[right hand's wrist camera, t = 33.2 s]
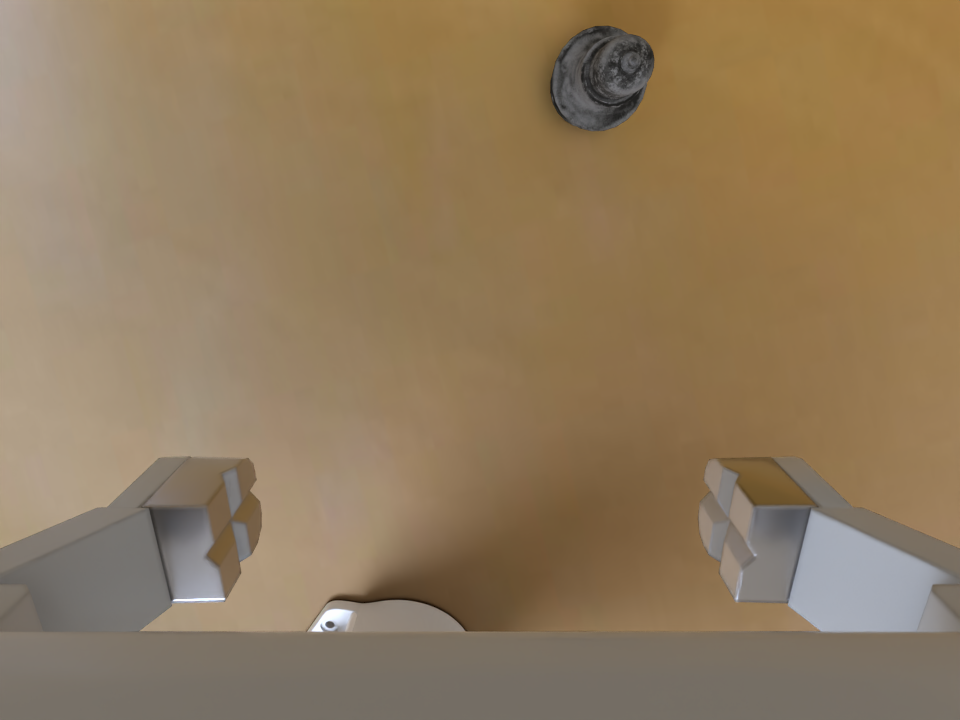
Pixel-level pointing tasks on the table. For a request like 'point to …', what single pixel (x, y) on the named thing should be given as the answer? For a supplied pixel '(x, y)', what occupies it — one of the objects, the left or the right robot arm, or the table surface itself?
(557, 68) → the dark grey tapered piece
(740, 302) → the table surface
